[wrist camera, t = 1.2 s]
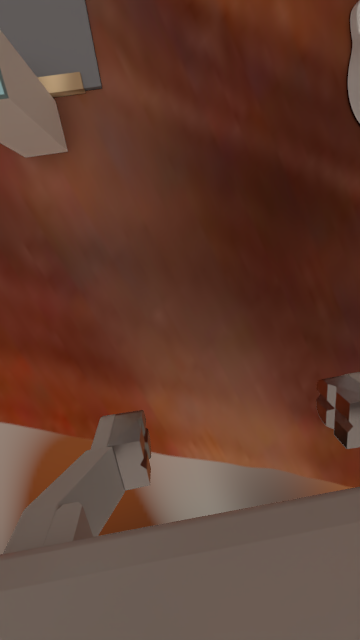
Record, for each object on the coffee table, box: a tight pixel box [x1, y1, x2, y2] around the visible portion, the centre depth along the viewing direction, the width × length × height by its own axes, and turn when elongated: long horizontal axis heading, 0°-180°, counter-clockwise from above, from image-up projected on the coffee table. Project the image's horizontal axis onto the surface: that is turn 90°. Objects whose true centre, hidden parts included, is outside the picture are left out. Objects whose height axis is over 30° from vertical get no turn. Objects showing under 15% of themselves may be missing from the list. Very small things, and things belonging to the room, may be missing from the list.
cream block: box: [0, 30, 68, 157], centre depth 24 cm, size 5×5×14 cm
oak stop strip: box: [37, 72, 85, 97], centre depth 29 cm, size 12×2×1 cm, turn 98°
